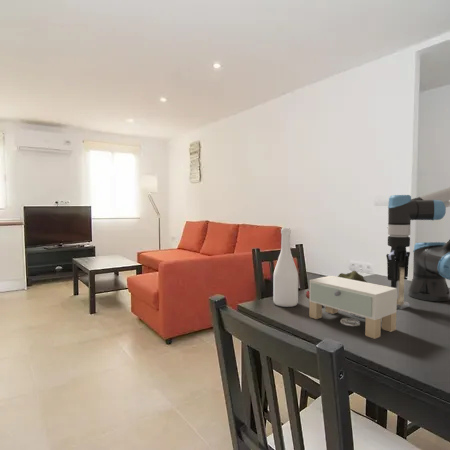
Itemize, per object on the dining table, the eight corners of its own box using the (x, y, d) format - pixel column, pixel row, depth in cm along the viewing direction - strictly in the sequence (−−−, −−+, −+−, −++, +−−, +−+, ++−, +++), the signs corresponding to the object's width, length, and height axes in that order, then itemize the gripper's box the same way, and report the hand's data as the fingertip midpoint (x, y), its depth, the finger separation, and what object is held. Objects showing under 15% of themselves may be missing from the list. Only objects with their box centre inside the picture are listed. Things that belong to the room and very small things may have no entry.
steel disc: (355, 320, 112) (355, 317, 112) (363, 327, 106) (363, 324, 106) (337, 321, 112) (337, 318, 112) (344, 327, 106) (344, 324, 106)
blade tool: (388, 301, 133) (389, 264, 132) (414, 307, 125) (415, 268, 124) (350, 314, 118) (350, 272, 117) (377, 322, 110) (378, 277, 109)
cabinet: (330, 310, 123) (331, 275, 122) (396, 329, 103) (396, 288, 102) (306, 317, 115) (306, 280, 114) (371, 340, 95) (372, 295, 94)
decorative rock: (380, 299, 142) (383, 276, 141) (351, 301, 136) (355, 277, 135) (354, 288, 156) (357, 267, 154) (327, 289, 150) (330, 267, 148)
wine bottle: (282, 308, 125) (282, 229, 123) (268, 302, 134) (268, 227, 132) (302, 305, 129) (303, 228, 127) (288, 299, 137) (289, 227, 136)
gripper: (399, 234, 133) (398, 291, 135) (377, 236, 124) (376, 298, 125) (419, 235, 127) (417, 295, 129) (397, 237, 118) (396, 303, 119)
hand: (397, 296), depth 127 cm, fingers closed on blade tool, 3 cm apart
